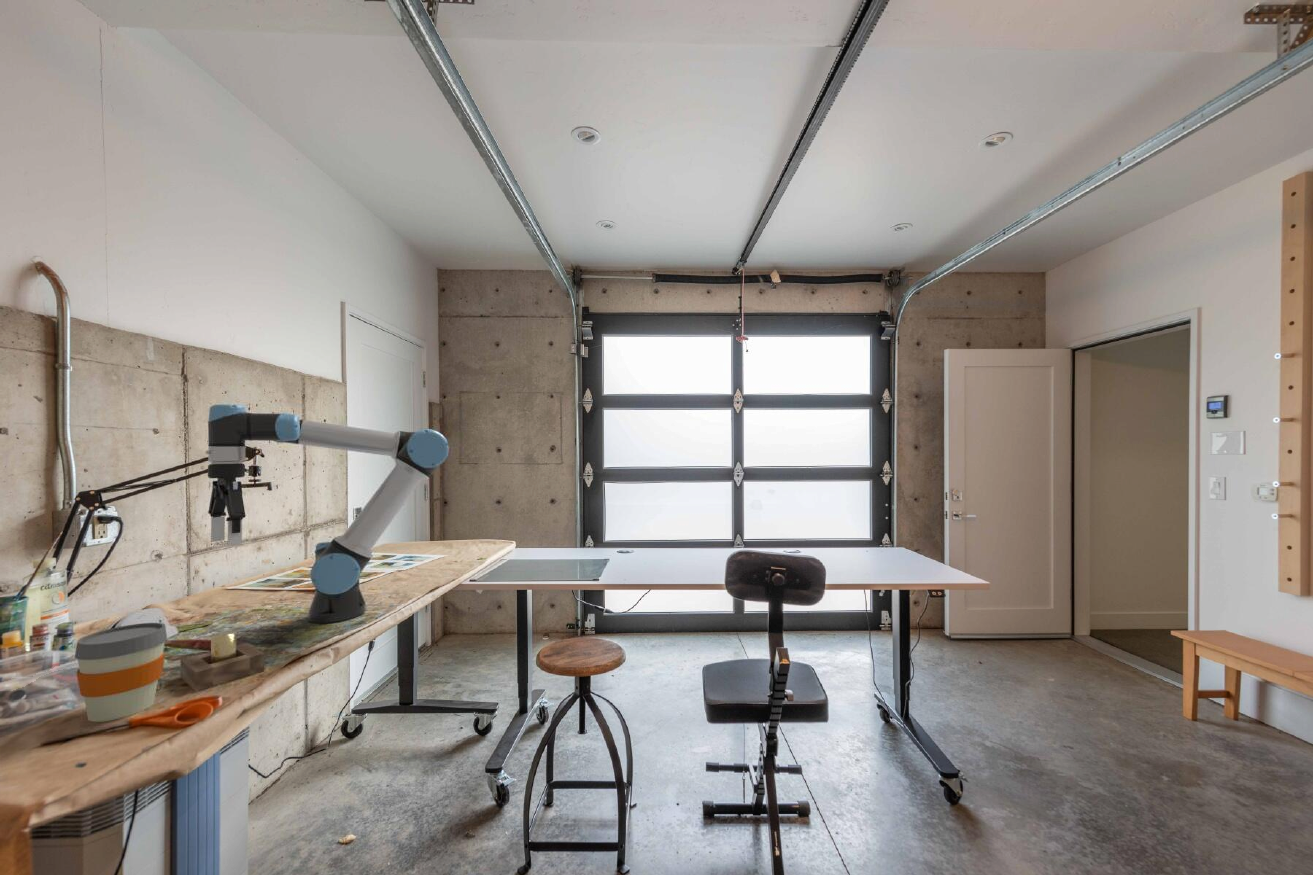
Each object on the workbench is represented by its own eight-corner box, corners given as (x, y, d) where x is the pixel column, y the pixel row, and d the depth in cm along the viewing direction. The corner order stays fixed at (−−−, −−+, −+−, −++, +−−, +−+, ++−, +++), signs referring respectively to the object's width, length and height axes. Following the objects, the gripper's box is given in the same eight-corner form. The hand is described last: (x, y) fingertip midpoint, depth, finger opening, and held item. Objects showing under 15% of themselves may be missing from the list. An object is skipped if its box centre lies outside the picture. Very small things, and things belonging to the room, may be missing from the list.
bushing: (232, 668, 118) (232, 629, 119) (238, 672, 116) (239, 633, 116) (208, 675, 115) (208, 635, 115) (214, 680, 112) (214, 639, 112)
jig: (246, 659, 124) (246, 642, 124) (264, 670, 117) (264, 653, 117) (180, 677, 114) (180, 659, 114) (195, 691, 107) (196, 672, 107)
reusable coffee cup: (161, 688, 108) (162, 618, 109) (171, 706, 100) (172, 630, 101) (72, 712, 99) (73, 635, 99) (74, 734, 91) (76, 650, 91)
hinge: (135, 654, 127) (119, 618, 127) (113, 663, 126) (97, 626, 126) (179, 632, 143) (165, 599, 143) (160, 639, 142) (146, 607, 142)
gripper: (194, 463, 138) (193, 541, 138) (224, 463, 124) (223, 550, 123) (229, 462, 144) (228, 537, 144) (261, 462, 130) (260, 545, 129)
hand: (225, 543), depth 134 cm, fingers open, 13 cm apart
